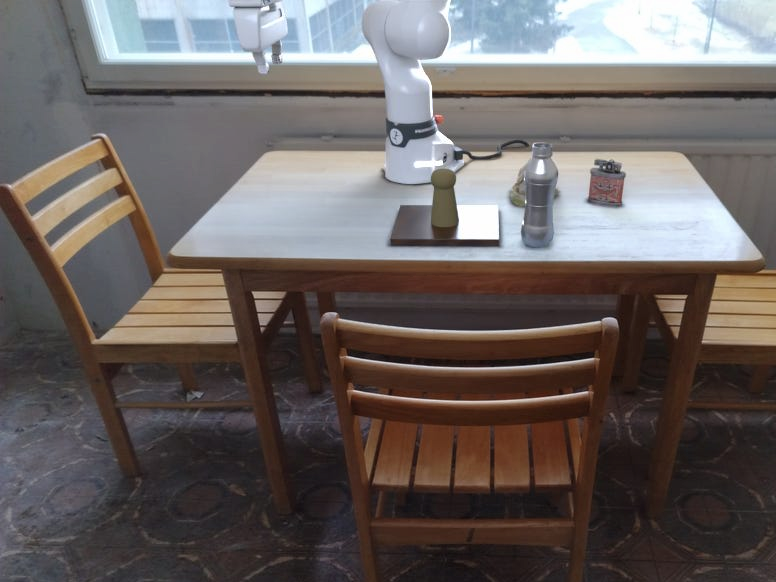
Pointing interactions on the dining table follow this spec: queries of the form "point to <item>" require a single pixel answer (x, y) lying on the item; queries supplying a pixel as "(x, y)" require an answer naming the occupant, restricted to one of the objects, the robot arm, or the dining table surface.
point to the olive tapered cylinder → (444, 198)
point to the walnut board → (471, 230)
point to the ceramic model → (521, 188)
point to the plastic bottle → (539, 196)
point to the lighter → (606, 183)
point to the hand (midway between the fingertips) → (271, 68)
